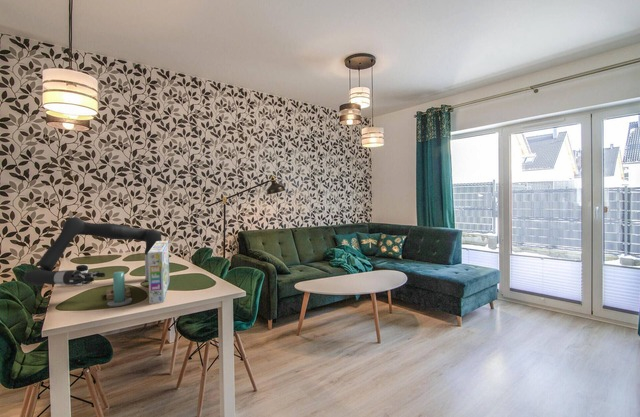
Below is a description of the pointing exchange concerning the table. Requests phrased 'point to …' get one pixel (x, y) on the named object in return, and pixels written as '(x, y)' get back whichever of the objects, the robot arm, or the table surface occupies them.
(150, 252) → the game box
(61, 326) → the table surface
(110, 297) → the pocket block
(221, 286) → the table surface
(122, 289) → the tall teal cylinder
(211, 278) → the table surface
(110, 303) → the coaster
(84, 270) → the medicine bottle
